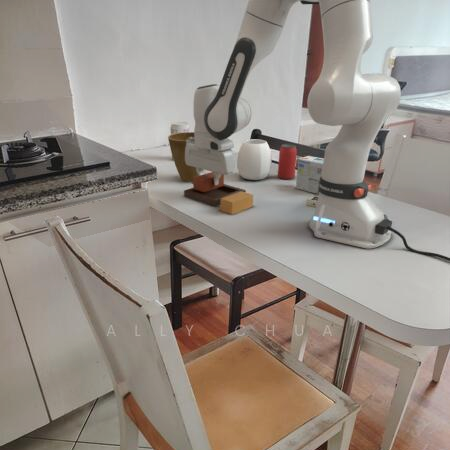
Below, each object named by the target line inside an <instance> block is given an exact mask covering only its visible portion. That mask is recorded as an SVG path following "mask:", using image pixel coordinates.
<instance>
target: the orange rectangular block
mask: <svg viewBox="0 0 450 450" xmlns="http://www.w3.org/2000/svg"><path fill="white" fill-rule="evenodd" d="M220 204H221V205H220V212H222V213H225V214H229V215H235V214H237V213H240V212H243V211H245V210H247V209H250V208H253V206H254V194H252V193H249V192H242V191H241V192H238V193H235V194H232V195H229V196H226V197H223V198H221V199H220Z"/></svg>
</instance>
